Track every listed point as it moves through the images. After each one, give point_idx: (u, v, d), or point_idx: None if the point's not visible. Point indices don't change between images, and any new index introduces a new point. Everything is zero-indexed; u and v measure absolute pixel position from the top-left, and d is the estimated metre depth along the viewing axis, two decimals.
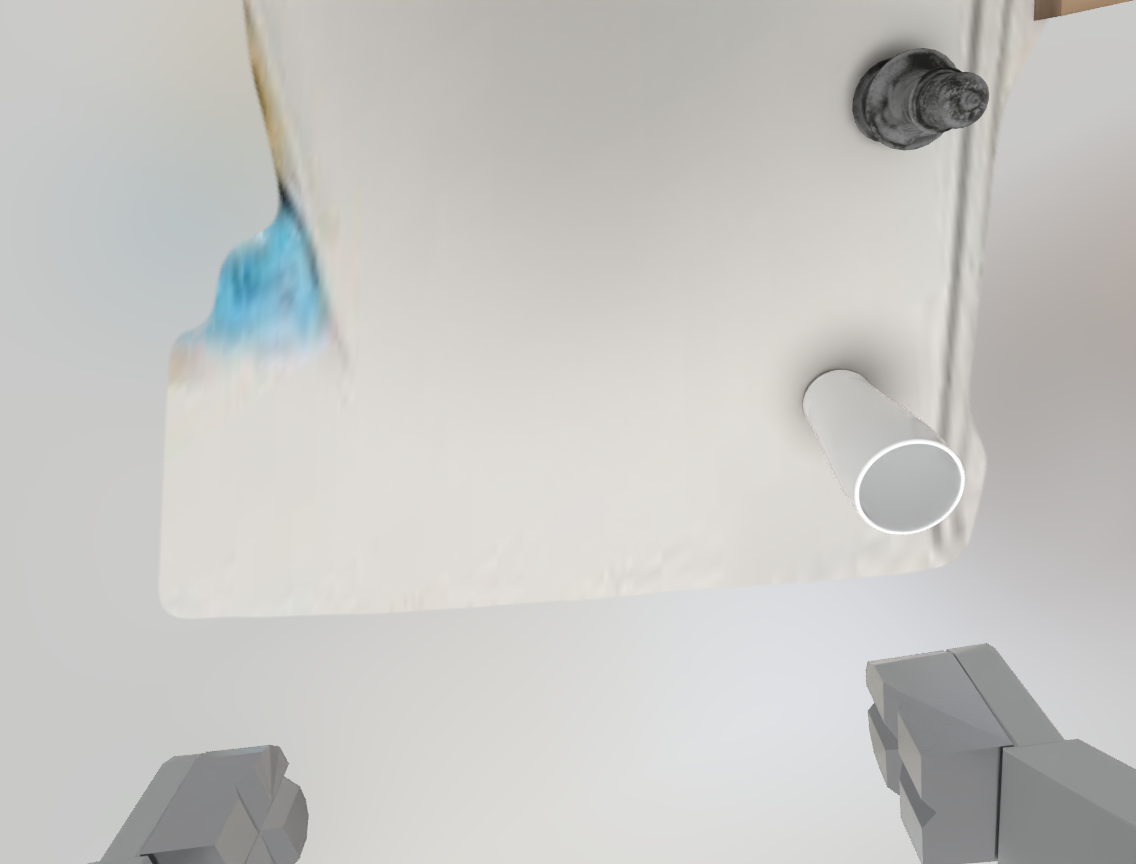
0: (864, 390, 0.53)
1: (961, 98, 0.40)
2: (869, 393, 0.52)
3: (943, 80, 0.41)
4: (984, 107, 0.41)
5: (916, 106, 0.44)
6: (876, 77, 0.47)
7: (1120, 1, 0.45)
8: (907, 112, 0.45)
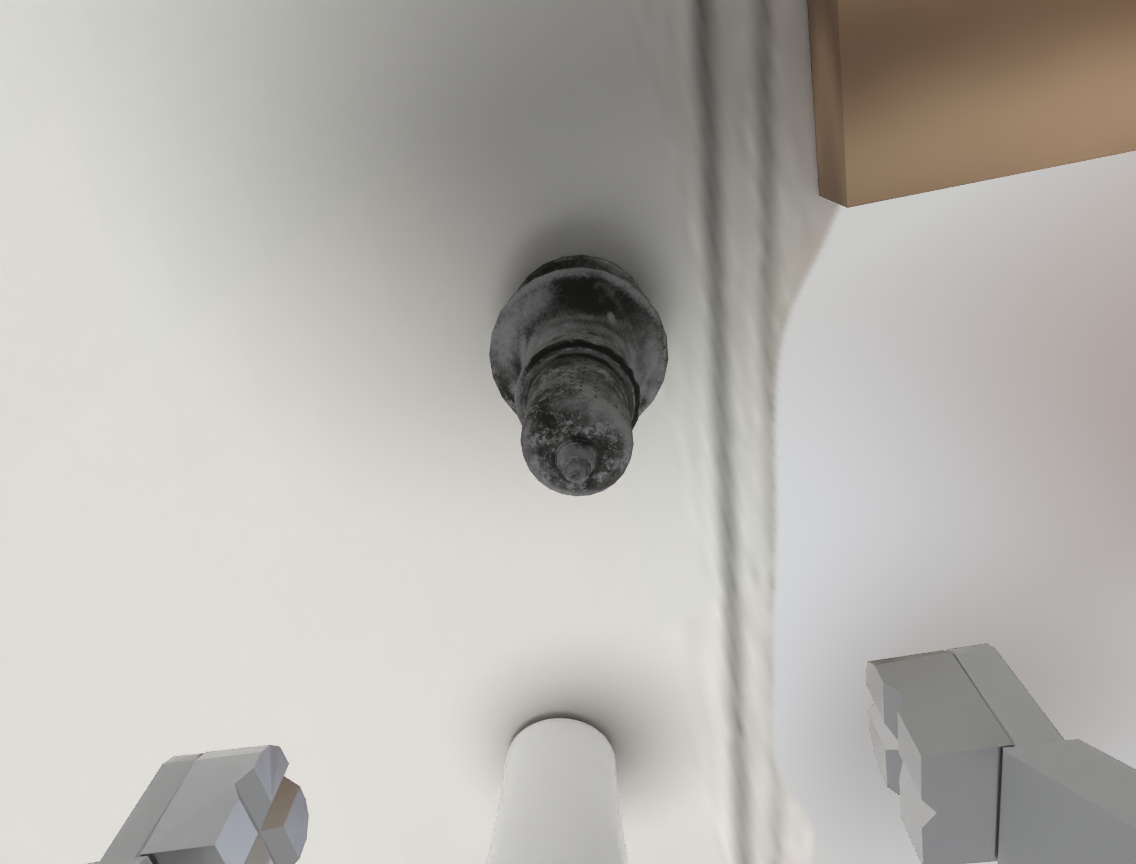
0: (553, 814, 0.30)
1: (557, 454, 0.18)
2: (555, 830, 0.30)
3: (536, 398, 0.19)
4: (619, 465, 0.18)
5: None
6: (499, 318, 0.24)
7: (962, 182, 0.23)
8: None
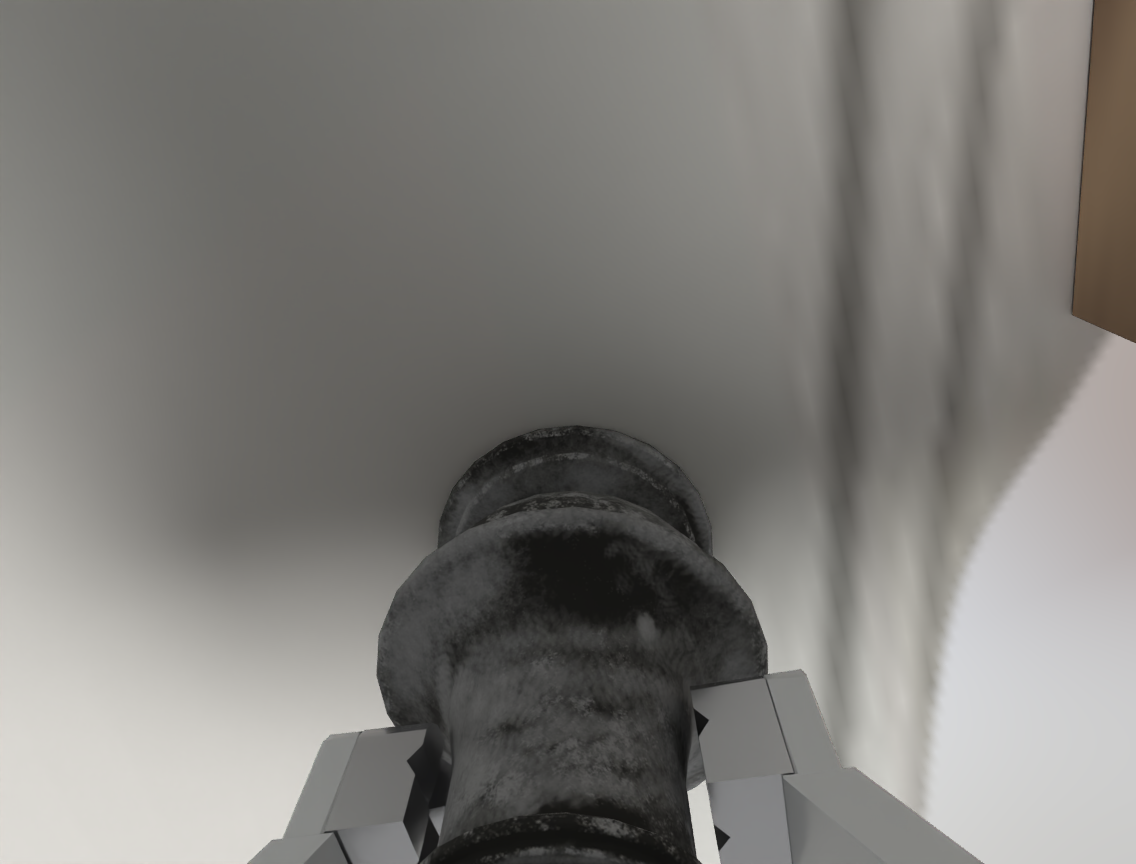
0: None
1: None
2: None
3: None
4: None
5: None
6: (392, 609, 0.11)
7: None
8: None
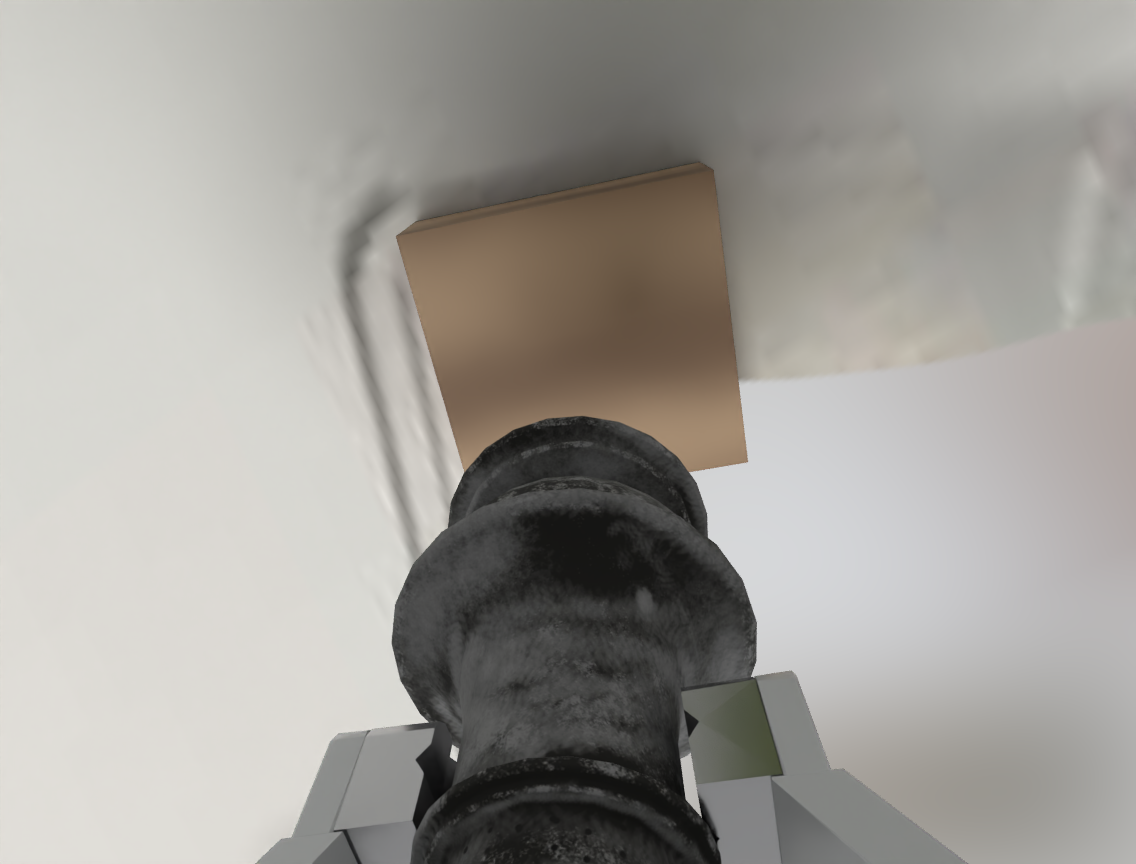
0: None
1: None
2: None
3: None
4: None
5: None
6: (409, 580, 0.12)
7: None
8: None
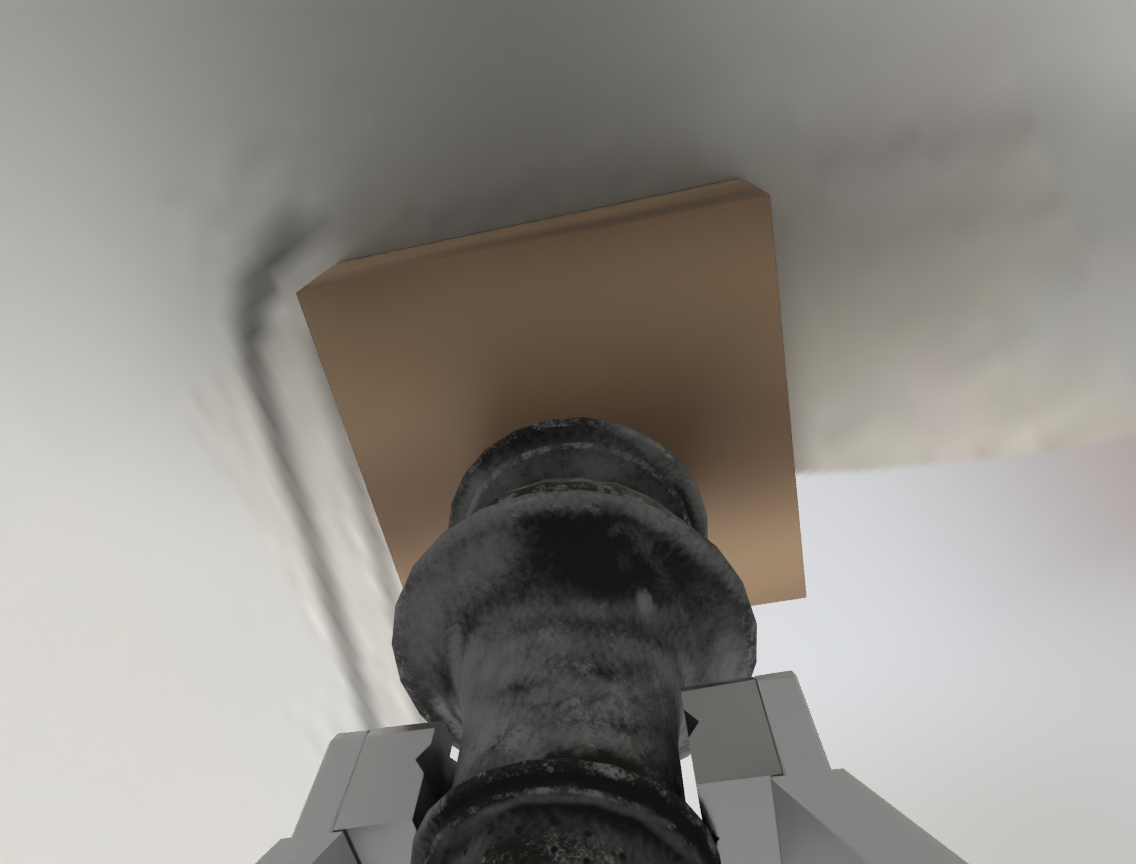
0: None
1: None
2: None
3: None
4: None
5: None
6: (409, 582, 0.12)
7: None
8: None
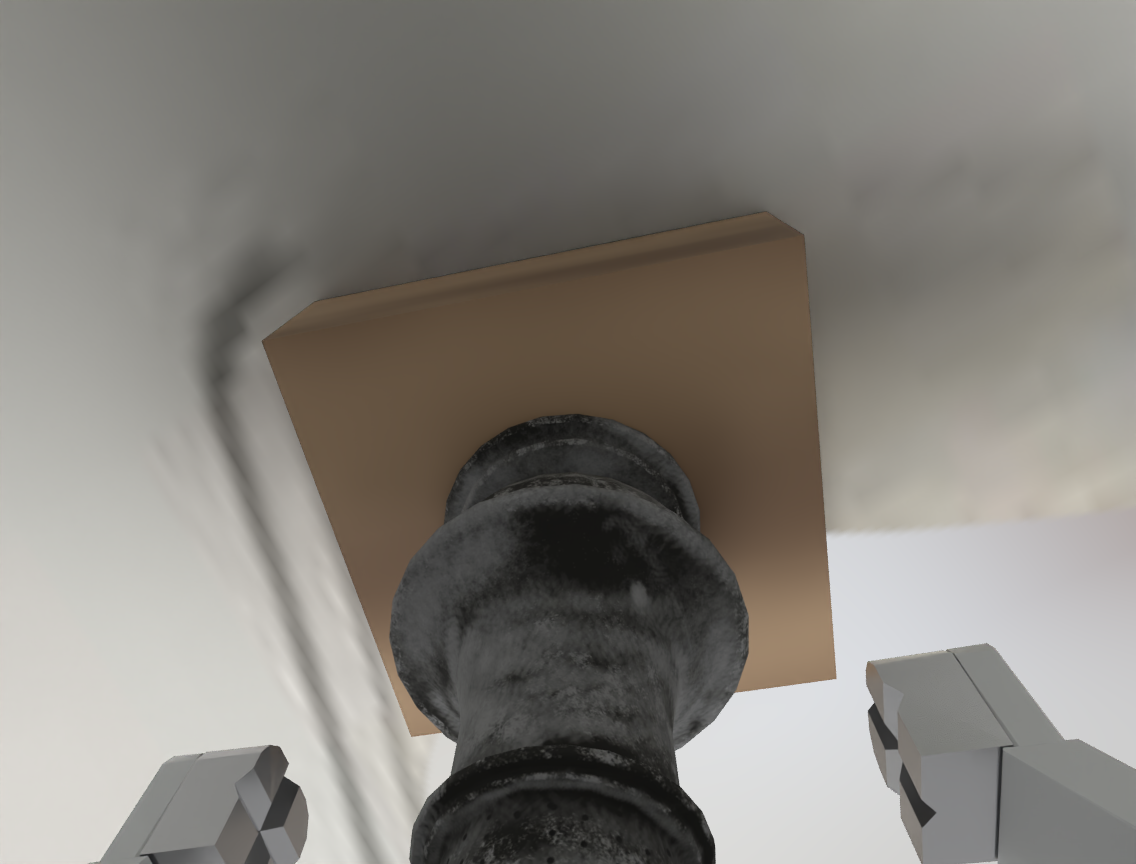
0: None
1: None
2: None
3: None
4: None
5: None
6: (406, 576, 0.12)
7: None
8: None
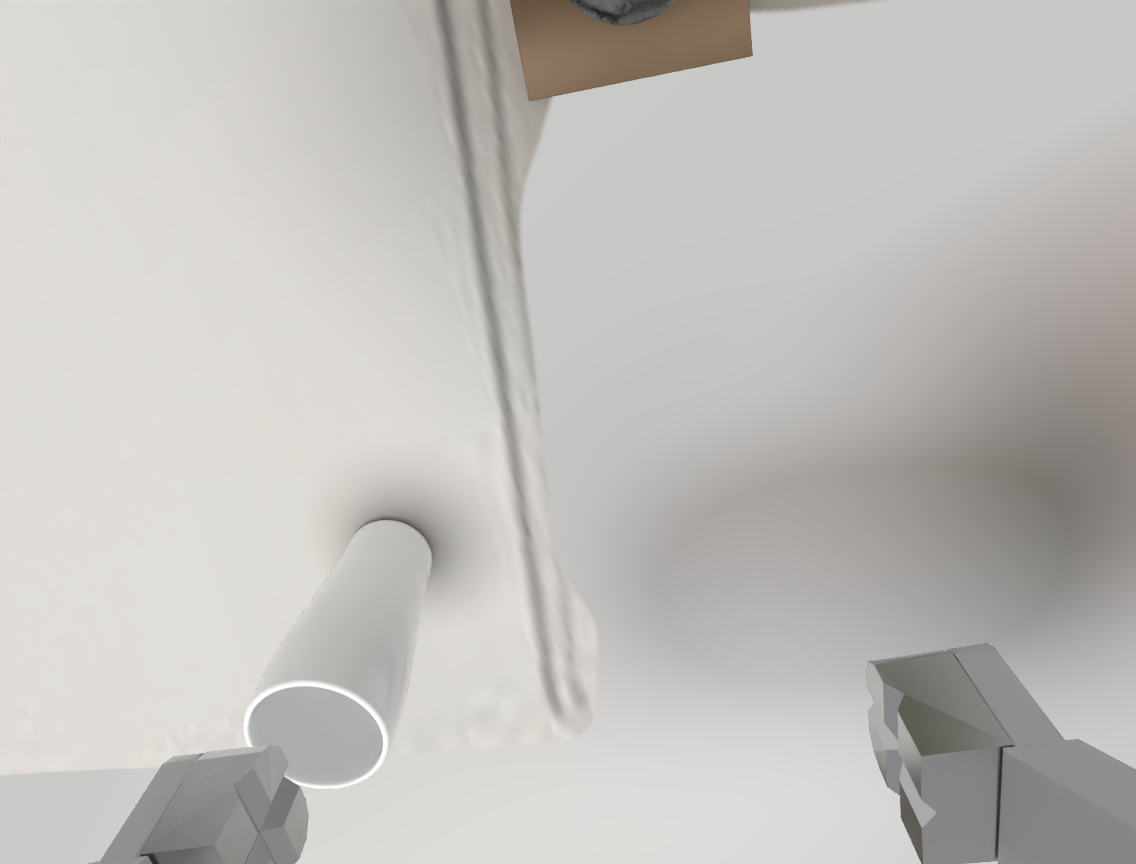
0: (360, 566, 0.41)
1: None
2: (358, 573, 0.40)
3: None
4: None
5: None
6: None
7: (604, 83, 0.33)
8: None
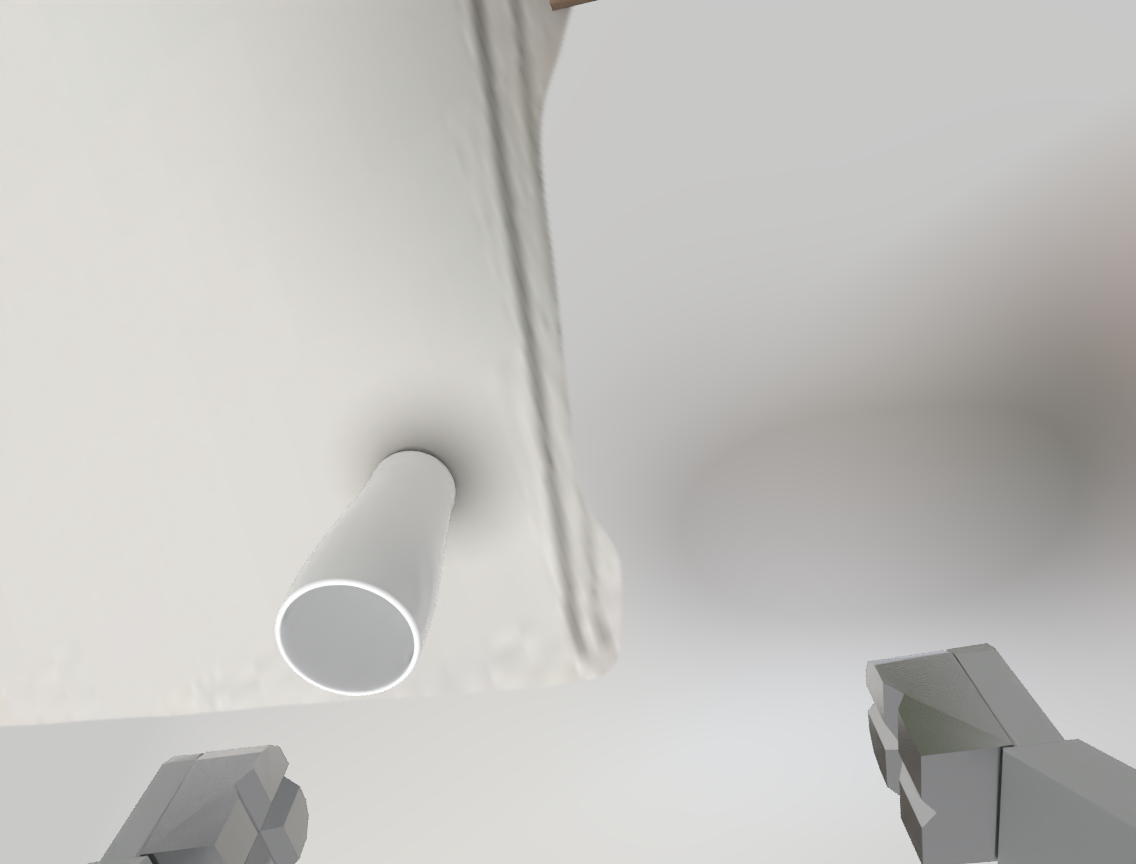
0: (386, 487, 0.41)
1: None
2: (384, 493, 0.40)
3: None
4: None
5: None
6: None
7: None
8: None
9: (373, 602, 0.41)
